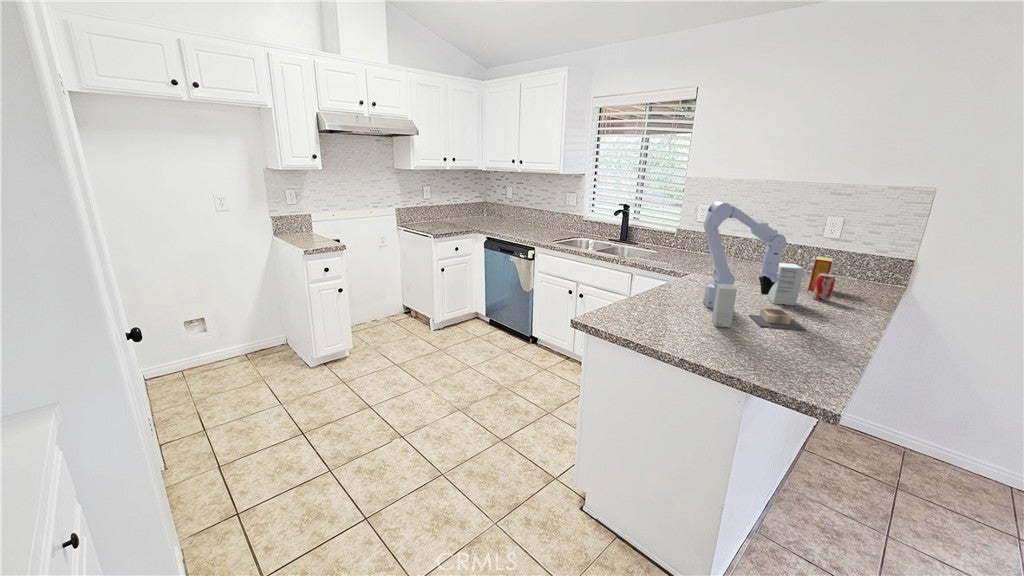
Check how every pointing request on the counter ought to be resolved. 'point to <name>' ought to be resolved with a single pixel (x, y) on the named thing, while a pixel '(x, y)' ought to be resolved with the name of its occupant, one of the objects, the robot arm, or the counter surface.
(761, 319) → the mat
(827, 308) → the counter surface
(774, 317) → the maple slab
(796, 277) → the supplement box
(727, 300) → the skincare box
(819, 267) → the baking soda box
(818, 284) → the soda can
